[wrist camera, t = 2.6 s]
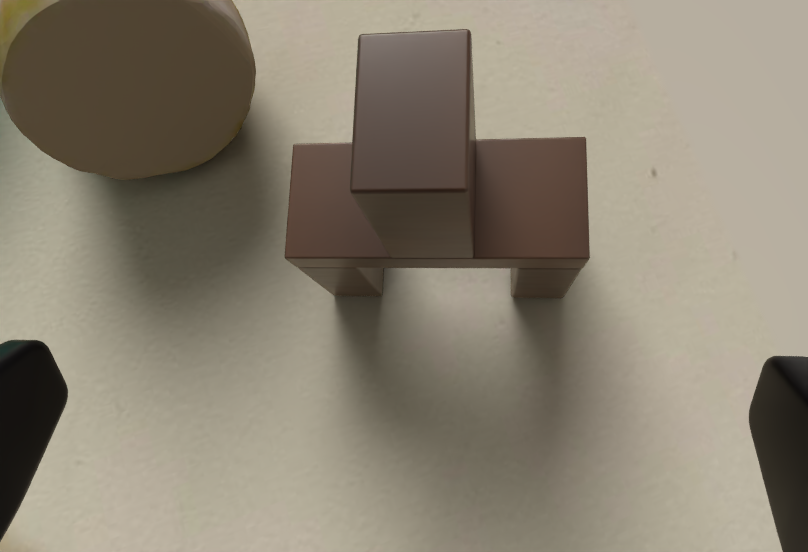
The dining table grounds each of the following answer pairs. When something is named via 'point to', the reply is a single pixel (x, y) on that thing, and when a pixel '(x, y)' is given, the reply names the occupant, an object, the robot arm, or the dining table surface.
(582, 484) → the dining table surface
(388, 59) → the brown stepped block
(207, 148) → the flowered bud vase
